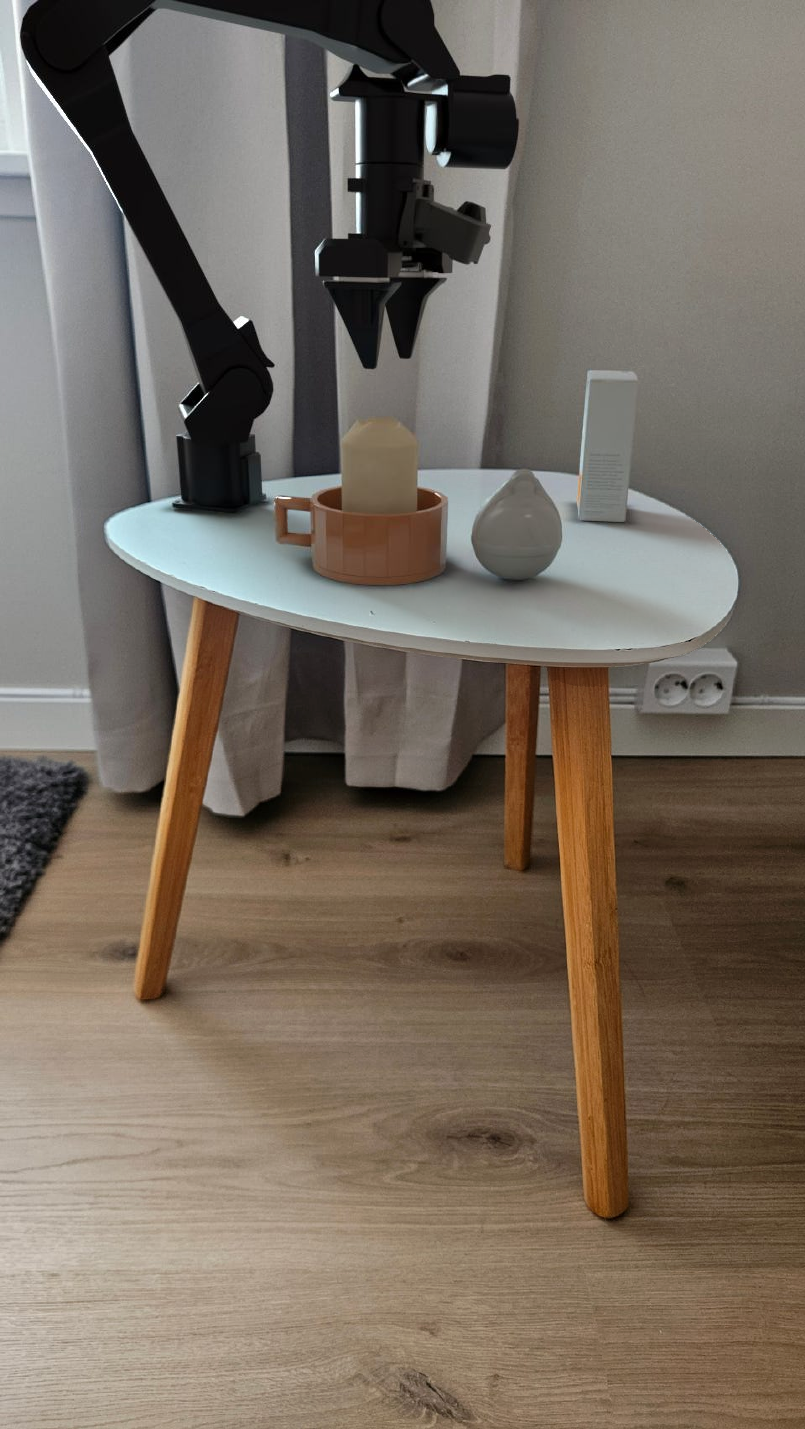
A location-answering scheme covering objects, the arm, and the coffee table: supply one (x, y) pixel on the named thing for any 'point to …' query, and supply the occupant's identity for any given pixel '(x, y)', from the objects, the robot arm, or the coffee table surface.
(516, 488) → the grey teardrop shape
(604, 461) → the cosmetic box
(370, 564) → the coffee cup
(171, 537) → the coffee table surface
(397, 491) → the candle
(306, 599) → the coffee table surface
